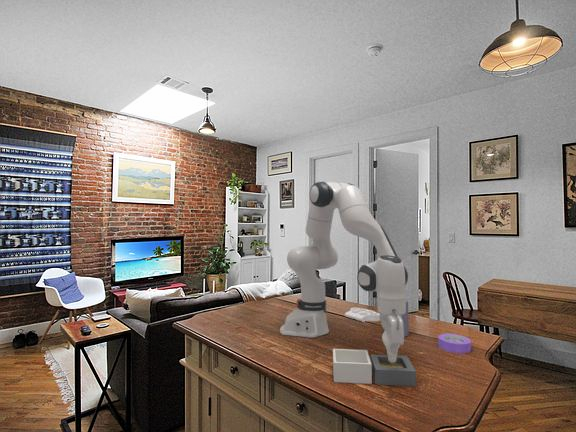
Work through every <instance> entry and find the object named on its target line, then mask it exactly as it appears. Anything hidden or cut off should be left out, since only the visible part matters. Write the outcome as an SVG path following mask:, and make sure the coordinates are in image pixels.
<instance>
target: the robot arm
mask: <svg viewBox="0 0 576 432" xmlns="http://www.w3.org/2000/svg"><path fill="white" fill-rule="evenodd" d="M309 199H310V206H309V210H308V213H307V220H306V226H305V233H306V235H307V236H308V238H309V239H311V240H312V245H309V246H298V247H294V248H291V249H290V250H289V251H288V254H287V256H286V258H287V259H286V261H287V265H288V267H289V268H290V269H291V271H293V272H295V273H296V275H297V277H298V279H299V283H300V284H299V285H300V292H301V294H300V295H301V296H300V297H301V298H297V299H296V308H295V309H294V310H292V311H291V312H290V313H289V314H287V316H286V318H285V321H284V324H282V325H281V326H280V328H279V332H280V334H281V335H282V336H284V335H285V336H292V337H293V336H294V337H301V338H302V337H303V338H313V339H314V338H316V337H321V336H323V335H327V334H329V332H330V329H329V326H328V320H327V319H328V318H327V314H326V313H327V312H328V311H327V300H326V284H325V282H324V280H322V279H321V278H319V277H318V276H317V272H316V270H326V269H330V268H333V267H334V266H336V265H337V263H338V259H339V255H338V251H337V250H336V248H334V247H333V244H332V242H331V231H332V225H333V217H334V213H335V212H334V211H335V210H336V209H338V213H339V217H340V221H341V223H342V226H343V228H344V229H345V230H346V231H347V232H348V233H349V234H351V235H353V236H356V237H359V238H362V239H364V240H367V241H368V242H370V243H371V244H373V246H374V247H375V249H376V251H377V253H378V255H379V257H377V259H376V260H374V261H373V262H369V263H365V264H363V265H360V267H359V270H358V272H357V277H356V278H357V284H358V285H359V287H360V288H361V289H362V290H363V291H364V292H369V293H370V292H371V293H372V292H376V299H377V301H376V302H377V303H376V305H377V306H376V307H377V313H379V314H380V324H381V327H382V329H383V332H384V331H385V330H386V333H387V336H388V338H389V340H390V342H391V353H392V354H397V355H398V352H397V348H398V345H400V346H404V343H405V337H404V327H403V320H402V319H401V318H402V314H405V313H406V293H405V287H406V285H407V283H408V280H409V273H408V269H407V268H406V267H405V265H404V262H403V260H402V258H400V257H399V256H398V254H397V252H396V250H395V248H394V246H393V244H392V243H391V242H392V241H390V238H389V236H388V234H387V232H386V231H385V229H384V228H383V226H382V225H381V224H380V223H378V221H377V220H376V219H375V218H374V216H373V215H372V214H371V211H370V210H369V206H368V203H367V201H366V199H365V196H364V195H363V193H362V191H361V190H360V188H359V187H358V186H357V185H355V184H352V183H345V182H340V181H316V182H314V183H313V185H311V187H310V191H309ZM398 349H399V348H398Z"/></svg>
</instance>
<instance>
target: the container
mask: <svg viewBox="0 0 576 432" xmlns="http://www.w3.org/2000/svg"><path fill="white" fill-rule="evenodd" d="M401 319H402V320H403V327H404V338H405V337H408V336H409V334H410V333H409V327H410V326H409V300H408V299H406V313H405V314H402V318H401Z"/></svg>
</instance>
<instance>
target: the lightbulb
mask: <svg viewBox="0 0 576 432" xmlns="http://www.w3.org/2000/svg"><path fill="white" fill-rule="evenodd" d="M381 340H382V342H383V345H384V346H385V348H386V355H388V361H389V362H391V363H395V362H396V358H397V355H398V351H399V348H400V347H401V345H398V348H397V354H392V353H391V342H390V340H389V338H388V336H387V333H386V330H385V331H384V330H383V333H382V335H381Z"/></svg>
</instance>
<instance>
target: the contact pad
mask: <svg viewBox="0 0 576 432" xmlns="http://www.w3.org/2000/svg"><path fill="white" fill-rule="evenodd" d="M379 363H380V365H381V367H390V368H403V366H402V364H401V363H391V362H379Z"/></svg>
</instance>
